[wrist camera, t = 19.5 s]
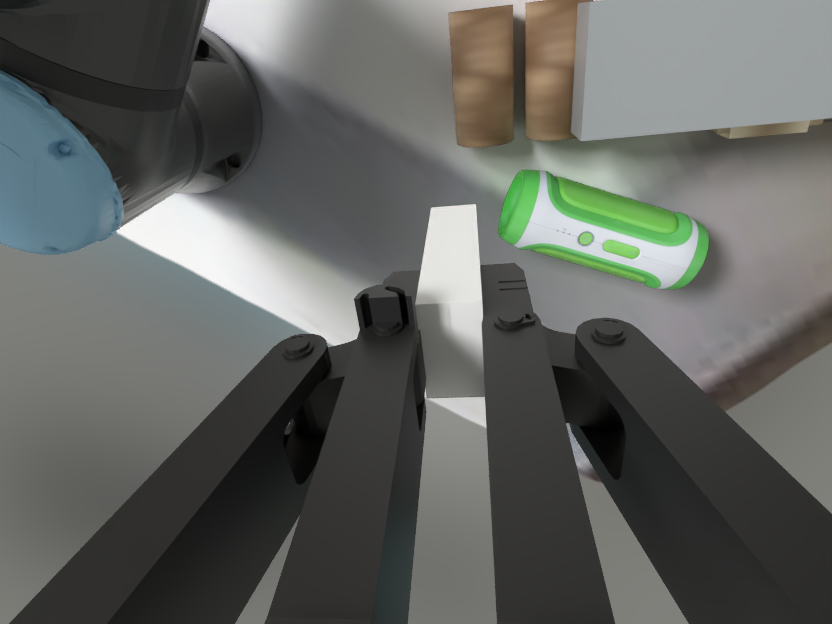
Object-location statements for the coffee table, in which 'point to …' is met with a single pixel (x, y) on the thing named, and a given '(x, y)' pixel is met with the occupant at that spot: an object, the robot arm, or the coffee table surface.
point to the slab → (699, 65)
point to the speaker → (602, 230)
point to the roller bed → (493, 72)
